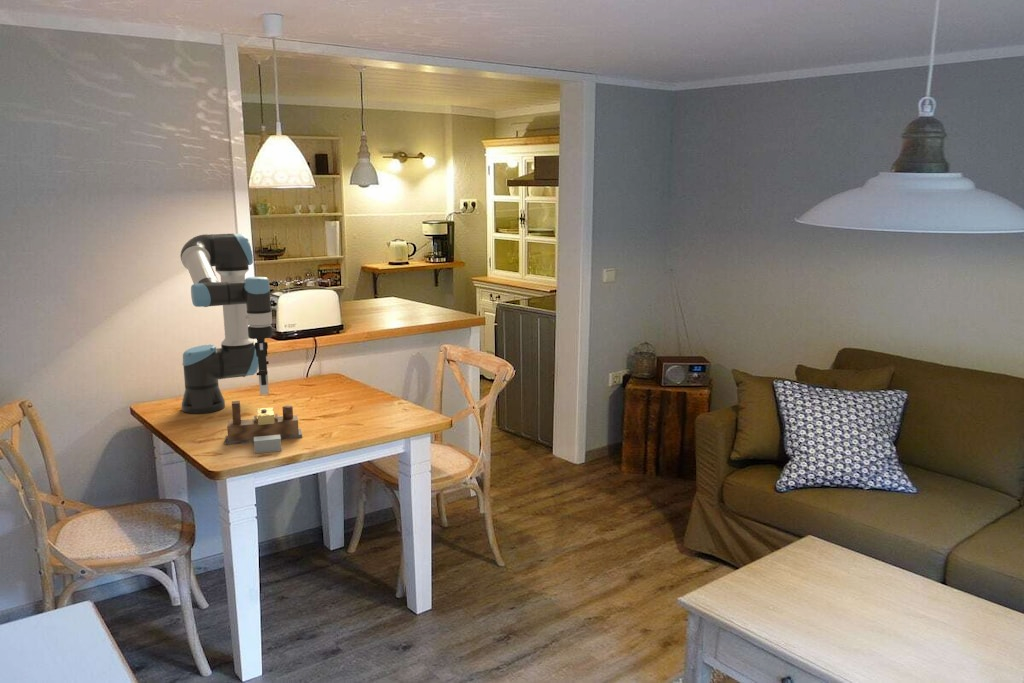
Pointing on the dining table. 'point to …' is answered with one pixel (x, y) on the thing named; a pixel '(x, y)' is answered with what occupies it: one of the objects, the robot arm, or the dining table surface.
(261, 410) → the lever cap
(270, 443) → the block
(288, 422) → the plane body
